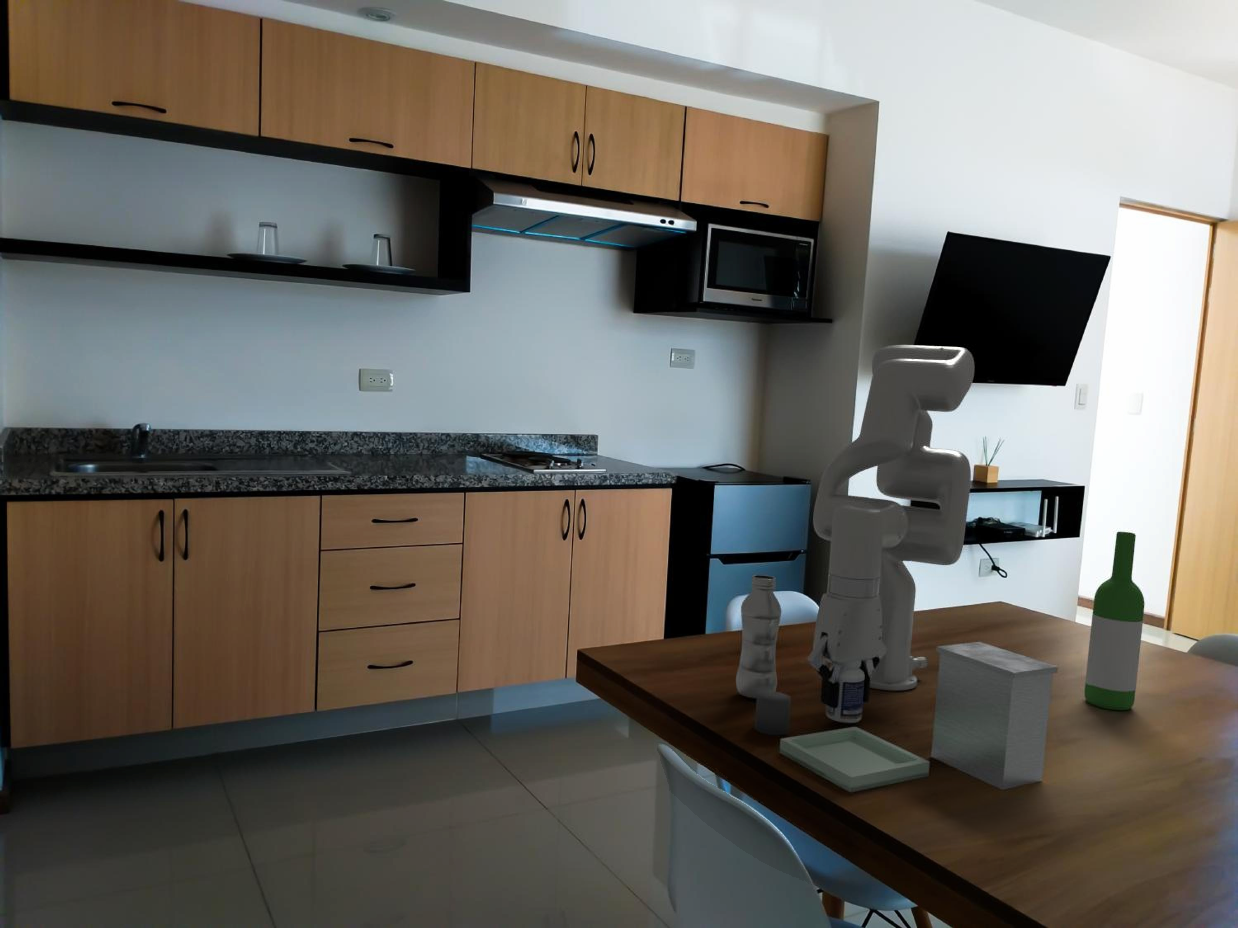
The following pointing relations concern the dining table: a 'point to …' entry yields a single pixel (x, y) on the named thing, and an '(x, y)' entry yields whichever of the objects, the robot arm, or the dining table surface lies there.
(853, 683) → the pill bottle
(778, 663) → the dining table surface
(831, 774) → the tray
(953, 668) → the metal box
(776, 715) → the stopper
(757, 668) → the plastic bottle
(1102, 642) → the wine bottle
